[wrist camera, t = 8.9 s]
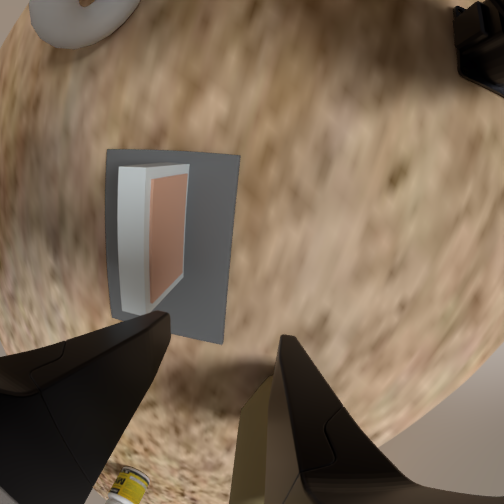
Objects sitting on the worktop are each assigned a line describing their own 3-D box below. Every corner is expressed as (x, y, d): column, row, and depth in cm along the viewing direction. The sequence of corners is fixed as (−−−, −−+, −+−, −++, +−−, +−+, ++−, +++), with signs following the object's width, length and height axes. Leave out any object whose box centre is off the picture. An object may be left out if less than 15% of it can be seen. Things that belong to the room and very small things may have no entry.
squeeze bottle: (350, 409, 23) (359, 594, 6) (269, 428, 26) (235, 596, 9) (323, 345, 22) (324, 589, 5) (230, 372, 24) (158, 572, 7)
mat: (240, 155, 19) (239, 155, 18) (223, 342, 23) (222, 344, 23) (110, 149, 20) (107, 149, 19) (114, 315, 24) (111, 317, 24)
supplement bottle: (129, 463, 33) (107, 503, 25) (155, 479, 34) (136, 519, 26) (118, 468, 35) (98, 504, 27) (143, 483, 35) (125, 520, 27)
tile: (185, 277, 21) (148, 317, 16) (163, 273, 22) (122, 310, 16) (191, 164, 19) (148, 167, 13) (167, 162, 19) (118, 166, 13)
